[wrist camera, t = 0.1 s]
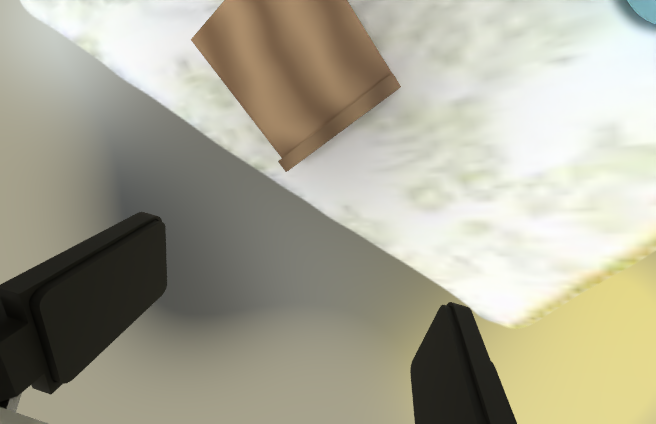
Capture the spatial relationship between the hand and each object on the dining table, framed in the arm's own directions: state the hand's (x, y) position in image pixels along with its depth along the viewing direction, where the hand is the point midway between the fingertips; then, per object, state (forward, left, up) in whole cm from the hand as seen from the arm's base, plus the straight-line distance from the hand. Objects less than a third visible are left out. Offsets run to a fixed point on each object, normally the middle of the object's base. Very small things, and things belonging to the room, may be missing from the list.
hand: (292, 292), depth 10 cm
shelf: (+1, -11, -31) cm, 33 cm away
